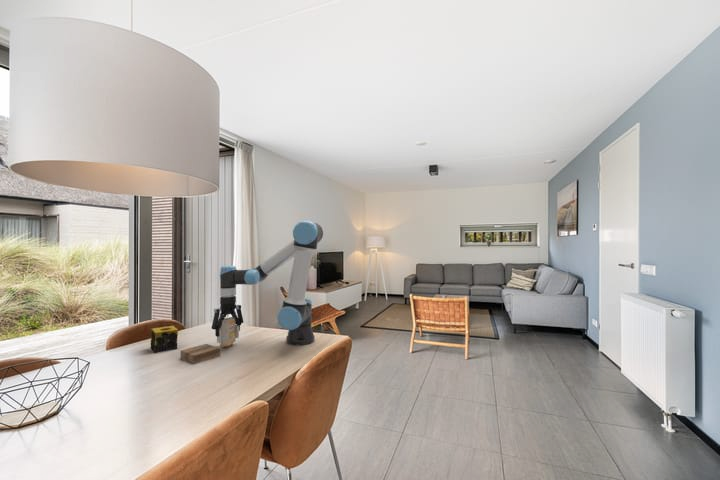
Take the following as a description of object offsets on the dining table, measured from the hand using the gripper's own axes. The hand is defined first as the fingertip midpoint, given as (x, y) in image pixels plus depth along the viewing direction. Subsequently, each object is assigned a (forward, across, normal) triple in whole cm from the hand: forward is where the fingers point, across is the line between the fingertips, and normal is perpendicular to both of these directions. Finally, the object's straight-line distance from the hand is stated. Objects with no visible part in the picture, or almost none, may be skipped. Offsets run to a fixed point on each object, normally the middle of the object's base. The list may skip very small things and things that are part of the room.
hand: (228, 340), depth 159 cm
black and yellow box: (+3, +20, -23) cm, 31 cm away
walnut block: (+4, +16, +4) cm, 17 cm away
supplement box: (+2, 0, 0) cm, 2 cm away
